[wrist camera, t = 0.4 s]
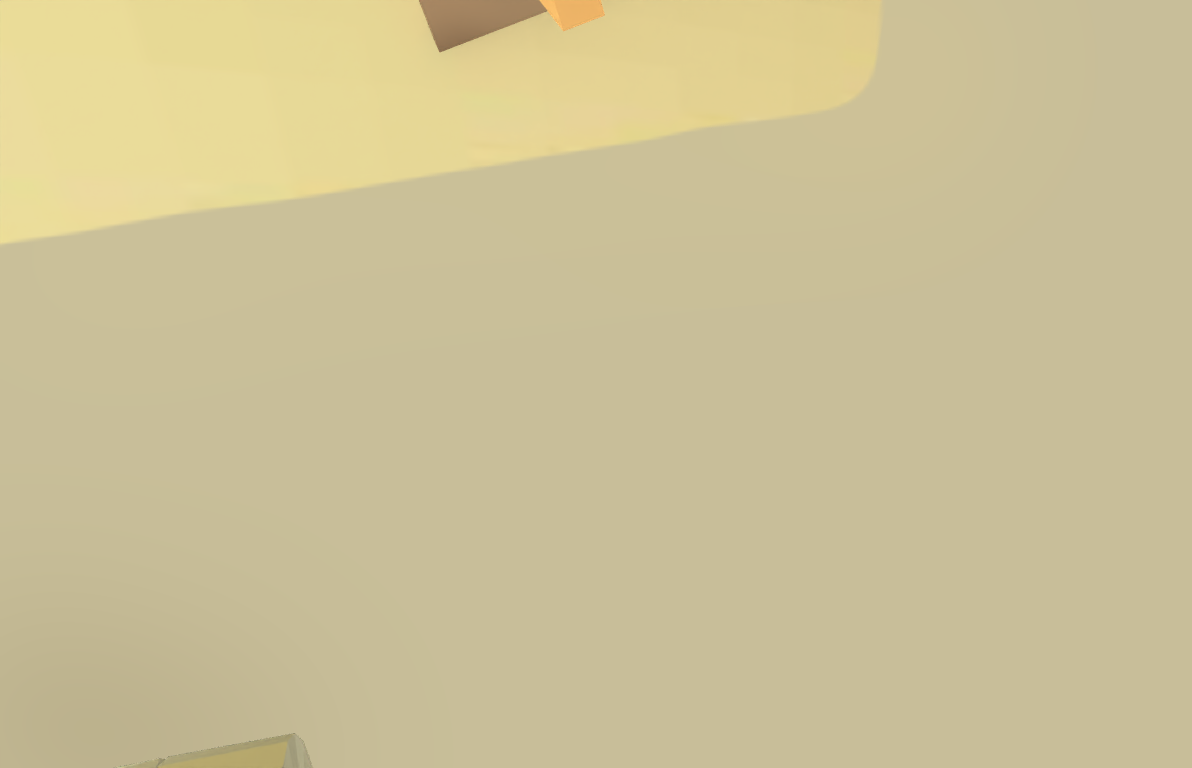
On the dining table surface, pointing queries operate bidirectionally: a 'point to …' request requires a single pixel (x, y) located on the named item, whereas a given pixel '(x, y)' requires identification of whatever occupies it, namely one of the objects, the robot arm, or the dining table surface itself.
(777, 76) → the dining table surface
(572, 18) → the orange paddle lever
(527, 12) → the walnut switch board
